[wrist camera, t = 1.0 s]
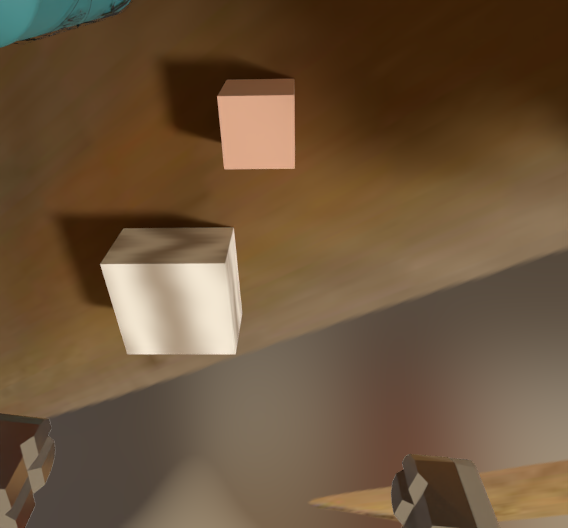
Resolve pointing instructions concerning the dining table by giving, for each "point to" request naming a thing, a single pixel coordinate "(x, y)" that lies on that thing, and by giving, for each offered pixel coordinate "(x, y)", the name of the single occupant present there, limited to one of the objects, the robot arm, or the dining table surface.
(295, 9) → the dining table surface
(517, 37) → the dining table surface
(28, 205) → the dining table surface
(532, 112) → the dining table surface
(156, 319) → the base block
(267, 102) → the terracotta block
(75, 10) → the beverage bottle
